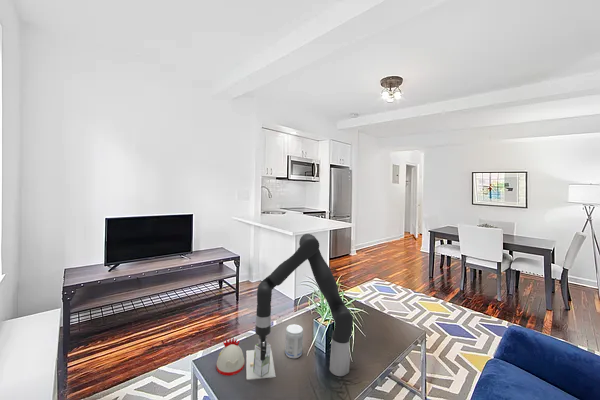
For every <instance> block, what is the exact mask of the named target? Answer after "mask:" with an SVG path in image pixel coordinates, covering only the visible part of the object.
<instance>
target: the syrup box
mask: <svg viewBox="0 0 600 400" xmlns="http://www.w3.org/2000/svg"><path fill="white" fill-rule="evenodd" d="M271 347H272V345H271V344H270V343H269V342H267V347H266V354H265V360H263V361H261V360H260V355H261V354H260V348H259V342H258V343H256V344H255V345H254V350H255V352H254V367H253V372H254V373H256V374H257V375H258V376H260V377H262V376H263V375H265V374H266V373H268V372H269V364H270V350H271V351H272V348H271ZM262 351H263V350H262Z"/></svg>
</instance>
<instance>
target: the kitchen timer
mask: <svg viewBox="0 0 600 400" xmlns="http://www.w3.org/2000/svg"><path fill="white" fill-rule="evenodd" d="M222 343H223V345H224V347H223V348H221V351H220V352H219V354H218V357H217V361H216V371H217V373H218V374H220V375H222V376H227V377H228V376H229V377H230V376H234V375H237V374H239V373H240V372H241V371H243V370H244V368H245V358H244V357H245V356H244V353H243V350H242V348H241V347H240V346H239V345H240V340H238V341H237V338H235V339H234V337H232V339H231V337H230V338H229V341H228V338H226V339H225V341H222Z"/></svg>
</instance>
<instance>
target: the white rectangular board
mask: <svg viewBox="0 0 600 400" xmlns="http://www.w3.org/2000/svg"><path fill="white" fill-rule="evenodd" d="M254 352H255V349H251V350H249V349H248V350H246V353H245V354H246V359H245V360H246V361H245V362H246V365H245V367H246V368H245V369H246V380H247V381H250V380H260V379H271V378H276V377H277V376H276V371H275V363H274V358H273V352H272V349H271V350H270V365H269V372H268V373H266V374H265V375H263V376H262V377H260V376H258V375H257V374H256V373H254V372H253V367H254V366H253V367H250V363H251V362H254Z"/></svg>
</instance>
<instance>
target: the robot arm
mask: <svg viewBox="0 0 600 400" xmlns="http://www.w3.org/2000/svg"><path fill="white" fill-rule="evenodd" d="M298 243H299V244H298V245H299V246H298V248H297V250H295V252H294V253H293V254H292V255H291V256H289V258H287V259H285V260H284V261H282V263H280V264H279V265H278V266H276V268H275V269H274V270H273V271H272V272H271V273H270V274H269V275H268V276H267V277H265V278H264V279H263V280H261V282H260V283H258V285H257V289H256V290H257V291H256V292H257V293H256V303H257V304H256V312H255V313H256V315H255V334H256V335H257V336H258V343H259V348H260V354H261V355H260V360H261V361H263V360H265V354H266V347H267V343H268V335H270V333H271V330H272V329H271V328H272V314H271V313H272V298H273V297H272V295H273V294H272V293H273V292H272V291H273V290H274V289H275V288H277V287H278V286H280V285H281V284H283V283H284V282H285V281H286V279H288V278H289V276H290V275H292V273H293V272H294V271H295V270H296V269H297V268H298V267H300V266H301V265H302V264H303V263H304V262H306V261H307V260H308V263H309V266H310V269H311V273H312V275H313V277H314V280H315V282H316V284H317V287H318V289H319V291H320V292H321V294H322V296H323V297H324V299H325V300H326V301H327V304H328V307H329V310H330V314H331V317H332V319H333V321H334V329H333V330H332V332H331V343H330V345H331V346H330V358H329V371H330V373H331V374H332V375H335V376H336V377H337V376H338V377H343V376H346V375H347V374H349V373H350V363H351V354H350V341H351V336H352V333H353V332H352V331H353V325H354V324H353V323H354V316H353V314H352V313H351V311H350V310H349V309H348V307H347V306H346V304H345V303H344V301H343V299H342V297H341V296H340V293H339V288H338V284H337V283H338V282H337V281H336V279H335V276H334V274H333V272H332V270H331V269H330V267H329V265H328V263H327V262H326V261H325V260H326V259H324V257H323V255H322V252H321V251H320V241H319V240H318V239H317V237H316V236H314V235H313V234H311V233H305V234H303V235H302V236H301V237H300V238H299V241H298ZM262 350H263V351H262Z"/></svg>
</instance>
